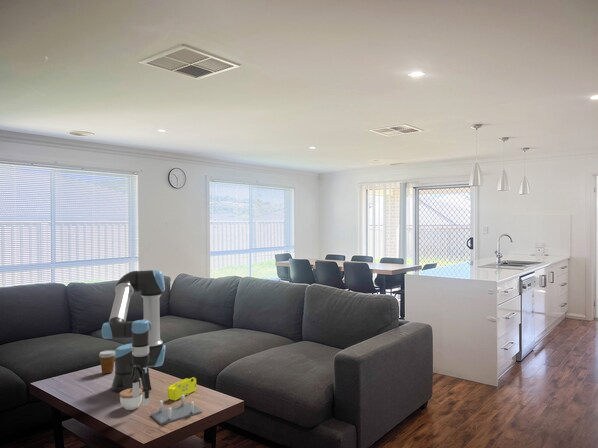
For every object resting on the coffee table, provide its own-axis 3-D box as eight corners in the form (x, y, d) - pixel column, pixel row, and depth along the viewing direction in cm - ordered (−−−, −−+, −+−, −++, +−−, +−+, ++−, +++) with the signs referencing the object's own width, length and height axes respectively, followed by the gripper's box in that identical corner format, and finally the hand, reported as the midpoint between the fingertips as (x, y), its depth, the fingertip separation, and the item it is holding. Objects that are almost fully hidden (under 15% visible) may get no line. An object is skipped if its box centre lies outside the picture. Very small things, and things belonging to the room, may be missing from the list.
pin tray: (150, 415, 212) (150, 402, 212) (190, 404, 224) (190, 392, 224) (161, 425, 202) (161, 411, 202) (202, 413, 214) (201, 400, 214)
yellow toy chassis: (175, 402, 228) (175, 385, 228) (167, 400, 231) (167, 384, 231) (196, 391, 242) (196, 376, 242) (188, 389, 245) (188, 374, 245)
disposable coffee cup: (95, 373, 271) (95, 354, 271) (105, 368, 280) (104, 349, 280) (110, 374, 269) (110, 354, 269) (119, 369, 279) (118, 350, 279)
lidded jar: (129, 414, 214) (128, 394, 214) (114, 409, 220) (114, 390, 220) (147, 406, 223) (147, 387, 223) (133, 401, 229) (133, 383, 229)
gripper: (123, 350, 215) (124, 394, 215) (141, 362, 195) (142, 411, 195) (139, 347, 220) (139, 391, 219) (158, 359, 200) (159, 406, 200)
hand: (140, 400), depth 207 cm, fingers open, 13 cm apart
